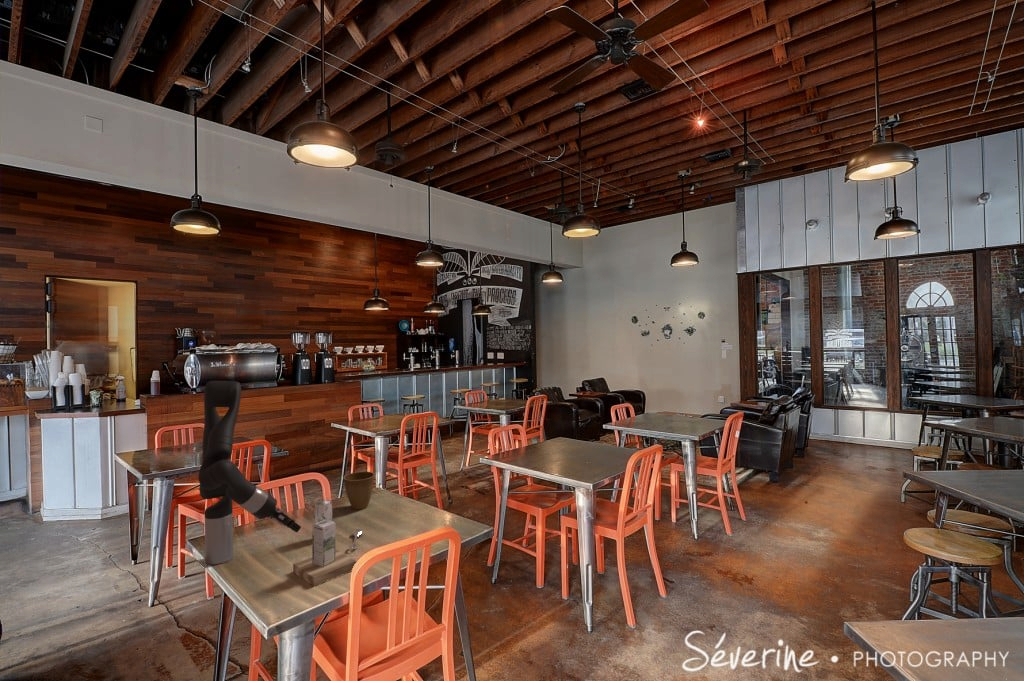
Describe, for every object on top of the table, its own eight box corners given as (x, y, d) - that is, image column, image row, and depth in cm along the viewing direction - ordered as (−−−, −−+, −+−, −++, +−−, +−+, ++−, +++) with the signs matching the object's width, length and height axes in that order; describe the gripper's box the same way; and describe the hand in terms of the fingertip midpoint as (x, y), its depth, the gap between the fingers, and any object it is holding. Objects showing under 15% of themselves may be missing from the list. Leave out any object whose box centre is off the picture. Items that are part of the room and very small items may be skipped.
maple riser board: (293, 571, 175) (293, 563, 175) (334, 556, 187) (334, 548, 187) (314, 586, 164) (314, 577, 164) (356, 569, 176) (356, 561, 176)
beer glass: (327, 542, 201) (326, 506, 200) (311, 541, 202) (311, 505, 202) (335, 535, 207) (335, 500, 207) (321, 534, 209) (320, 499, 209)
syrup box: (324, 557, 179) (324, 518, 179) (336, 561, 177) (335, 521, 176) (312, 564, 174) (311, 524, 174) (323, 567, 171) (323, 526, 171)
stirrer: (356, 543, 190) (344, 544, 190) (356, 552, 190) (344, 553, 190) (364, 526, 210) (353, 527, 209) (364, 535, 210) (353, 536, 209)
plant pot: (355, 501, 251) (354, 470, 251) (380, 503, 247) (380, 472, 247) (337, 511, 236) (337, 478, 236) (364, 513, 232) (363, 480, 232)
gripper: (275, 496, 156) (310, 521, 164) (257, 487, 165) (291, 512, 174) (258, 517, 152) (294, 542, 160) (240, 507, 161) (276, 531, 170)
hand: (293, 526), depth 167 cm, fingers open, 8 cm apart
